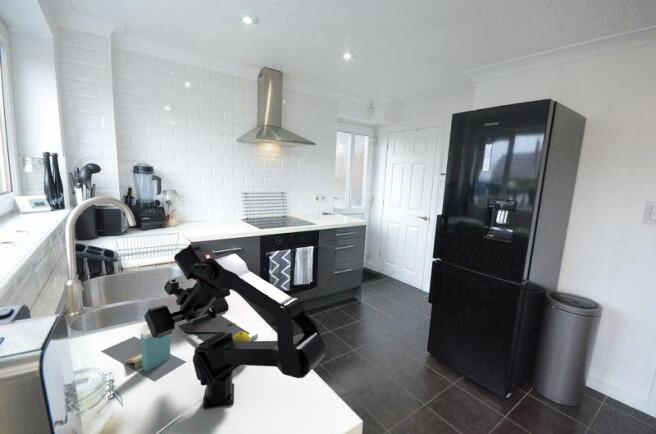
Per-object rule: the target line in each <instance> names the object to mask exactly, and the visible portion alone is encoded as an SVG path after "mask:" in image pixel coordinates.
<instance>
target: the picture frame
mask: <svg viewBox="0 0 656 434" xmlns="http://www.w3.org/2000/svg"><path fill="white" fill-rule="evenodd" d="M177 331H178V332H179V333H180V334H181V335H183V336H184V337H185V338H186V339H188V340H189V341H190V342H191V343H193V345H195V346H196V347H199V344H200V343H202V342H204V341H206V340H208V339H209V338H211V337H213V336H215V335H217V334H218V333H220V332H224V333H229V332H232V337H234V335H235V334H237V333H239V332H241V331H242V332H245V333H247V334H248V335H249V336H250V339H251V341H255V339H257V338H258V337H259V333H258V332H256V331H255V330H253V329H252V328H250V327H248V326H246V325H244V324H243V323H242V322H241V321H238V320H236V319H235V318H233V317H232V316H230V315H228V314H227V313H225V314H224V315H221V316H220V317H217V318H214V319H212V320H209V321H206V322H204V323H201V324H199V325H196V326H194V325H193V321H190V322H188V321H187V322H186V323H185V322H184V323H182V324H179V325H178V329H177Z"/></svg>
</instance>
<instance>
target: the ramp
mask: <svg viewBox="0 0 656 434" xmlns="http://www.w3.org/2000/svg"><path fill="white" fill-rule="evenodd" d="M133 362H135V368H136V369H138V368H140V367H142V353H141V354H139V355H137V356H135V357H133V358H131V359H129V360H127V361H126V363H127V364H128V363H133Z"/></svg>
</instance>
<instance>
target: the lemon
mask: <svg viewBox="0 0 656 434" xmlns="http://www.w3.org/2000/svg"><path fill="white" fill-rule="evenodd" d="M233 338H234V340H235V341H252V340H251V339H250V336H249V335H248V334H247V333H245V332H242V331H241V332H239V333H237V334H235V335H234V337H233Z"/></svg>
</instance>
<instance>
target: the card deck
mask: <svg viewBox="0 0 656 434" xmlns="http://www.w3.org/2000/svg"><path fill="white" fill-rule="evenodd" d="M139 335H140V339H141V351H142V369H143V370H145V371H149V370H151V369H152V368H154V367H156V366H158V365H159V364H161V363H163V362H165V361H166V360H168V359H170V354H171V334H169V335H166V336H164V337H162V338H159V339H158V338H155V337H152V334H151V332H150V330H149V329H147V330H144V331H142V332H140V334H139Z"/></svg>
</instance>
